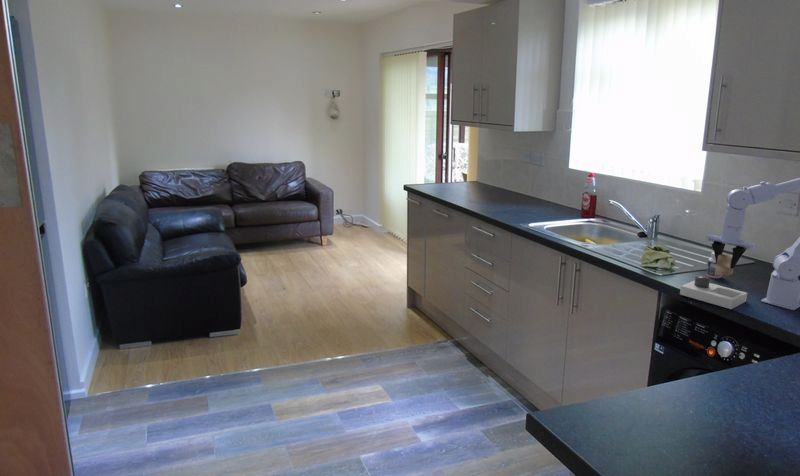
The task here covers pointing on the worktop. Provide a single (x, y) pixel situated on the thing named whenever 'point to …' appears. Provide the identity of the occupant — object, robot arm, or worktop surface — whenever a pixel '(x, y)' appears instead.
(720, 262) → the plug block
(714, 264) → the pill bottle
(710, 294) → the white tray
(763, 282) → the worktop surface
